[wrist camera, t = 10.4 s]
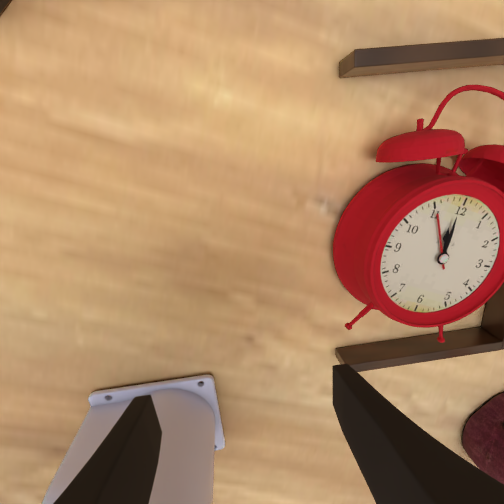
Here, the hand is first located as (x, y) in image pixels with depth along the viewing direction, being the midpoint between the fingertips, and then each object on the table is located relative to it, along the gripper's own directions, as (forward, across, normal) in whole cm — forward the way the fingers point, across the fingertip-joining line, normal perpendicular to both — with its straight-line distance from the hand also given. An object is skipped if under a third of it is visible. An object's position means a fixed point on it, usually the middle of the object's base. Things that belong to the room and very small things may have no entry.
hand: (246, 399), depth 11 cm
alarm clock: (+10, -13, -4) cm, 16 cm away
